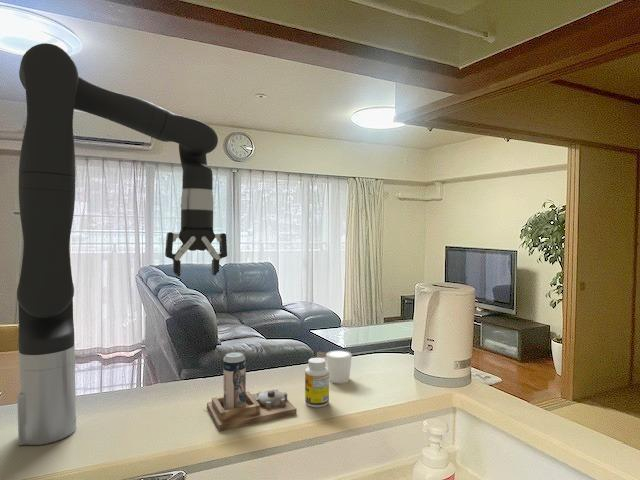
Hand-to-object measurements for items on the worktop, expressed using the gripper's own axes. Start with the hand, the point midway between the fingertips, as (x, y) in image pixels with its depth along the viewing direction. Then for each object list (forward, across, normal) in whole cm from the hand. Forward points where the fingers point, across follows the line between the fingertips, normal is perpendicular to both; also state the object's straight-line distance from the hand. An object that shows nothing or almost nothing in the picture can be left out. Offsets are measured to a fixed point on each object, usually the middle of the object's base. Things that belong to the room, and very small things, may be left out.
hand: (196, 275), depth 101 cm
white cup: (+29, +37, -7) cm, 47 cm away
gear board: (+29, +10, -14) cm, 34 cm away
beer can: (+28, +6, -14) cm, 32 cm away
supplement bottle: (+29, +24, -18) cm, 42 cm away
